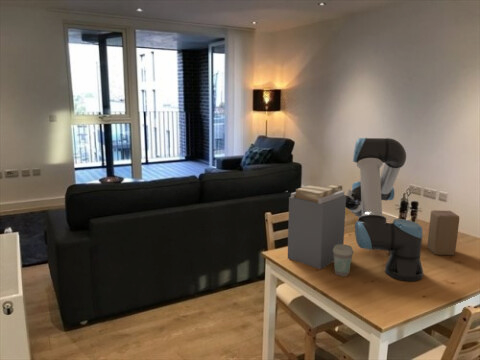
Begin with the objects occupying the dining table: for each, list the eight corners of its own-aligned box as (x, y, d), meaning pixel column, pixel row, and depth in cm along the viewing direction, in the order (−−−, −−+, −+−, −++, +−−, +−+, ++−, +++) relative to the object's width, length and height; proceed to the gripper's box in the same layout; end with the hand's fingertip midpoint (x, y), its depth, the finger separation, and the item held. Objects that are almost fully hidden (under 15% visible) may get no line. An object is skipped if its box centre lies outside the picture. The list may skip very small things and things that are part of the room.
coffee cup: (327, 270, 168) (329, 245, 165) (344, 267, 171) (345, 242, 168) (339, 279, 160) (340, 252, 157) (356, 275, 163) (357, 249, 160)
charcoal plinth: (311, 246, 195) (313, 185, 189) (342, 256, 183) (346, 191, 177) (287, 258, 181) (289, 192, 175) (320, 269, 169) (323, 199, 162)
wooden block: (446, 248, 193) (451, 210, 189) (455, 256, 183) (460, 216, 179) (426, 247, 194) (430, 209, 189) (434, 255, 184) (438, 215, 180)
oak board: (328, 187, 194) (328, 180, 193) (349, 191, 185) (350, 183, 185) (295, 197, 174) (295, 189, 173) (318, 202, 166) (318, 193, 165)
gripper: (372, 214, 194) (356, 201, 179) (329, 205, 211) (312, 192, 196) (377, 201, 196) (361, 186, 181) (334, 193, 213) (316, 179, 198)
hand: (335, 190), depth 188 cm, fingers open, 13 cm apart
